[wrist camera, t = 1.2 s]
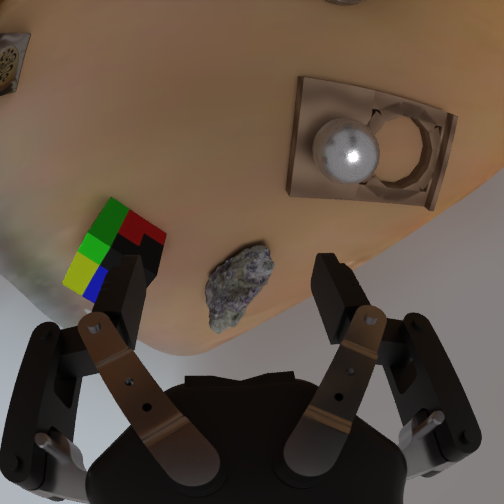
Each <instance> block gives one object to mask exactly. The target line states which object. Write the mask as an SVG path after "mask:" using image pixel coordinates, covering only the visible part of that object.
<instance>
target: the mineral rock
mask: <svg viewBox="0 0 504 504" xmlns="http://www.w3.org/2000/svg"><path fill="white" fill-rule="evenodd" d="M273 268H274V262H273V261H272V260H271V258H270V250H269V249H268V248H267V247H266V246H264V245H257V246H253V247H252V248H246V249H244V250H243V251H241V252H240V253H239V254H238V255H236V256H234V257H233V258H231V259H229V260H227V261H226V262H225V264H223V265H222V266H219V267H218V268H217V269H216V271H215V272H214V273H213V274H211V275H210V276H209V282H208V284H207V286H206V291H205V295H206V304H207V306H208V307H209V310H210V311H209V318H210V321H209V325H210V328H211V329H212V330H213V331H214V332H216V333H217V334H219V333H221V332H222V331H224V330H225V329H228V328H229V327H235V326H236V325H237V324H238V322H239V321H240V319H241V318H242V317H243V315H244V314H245V311H246V307H247V306H248V304H249V303H250V302H251V301H252V300H253V298H254V297H255V296H256V295H257V294H258V293H259V292H260V291H261V289H262V287H263V286H264V285H266V284H267V283H268V279H269V277H270V275H271V272H272V270H273Z"/></svg>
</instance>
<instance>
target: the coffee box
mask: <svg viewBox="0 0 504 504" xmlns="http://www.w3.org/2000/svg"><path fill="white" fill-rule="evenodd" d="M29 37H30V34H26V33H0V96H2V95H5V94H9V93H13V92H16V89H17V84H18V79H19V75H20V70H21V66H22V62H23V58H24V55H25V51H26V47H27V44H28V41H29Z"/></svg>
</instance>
